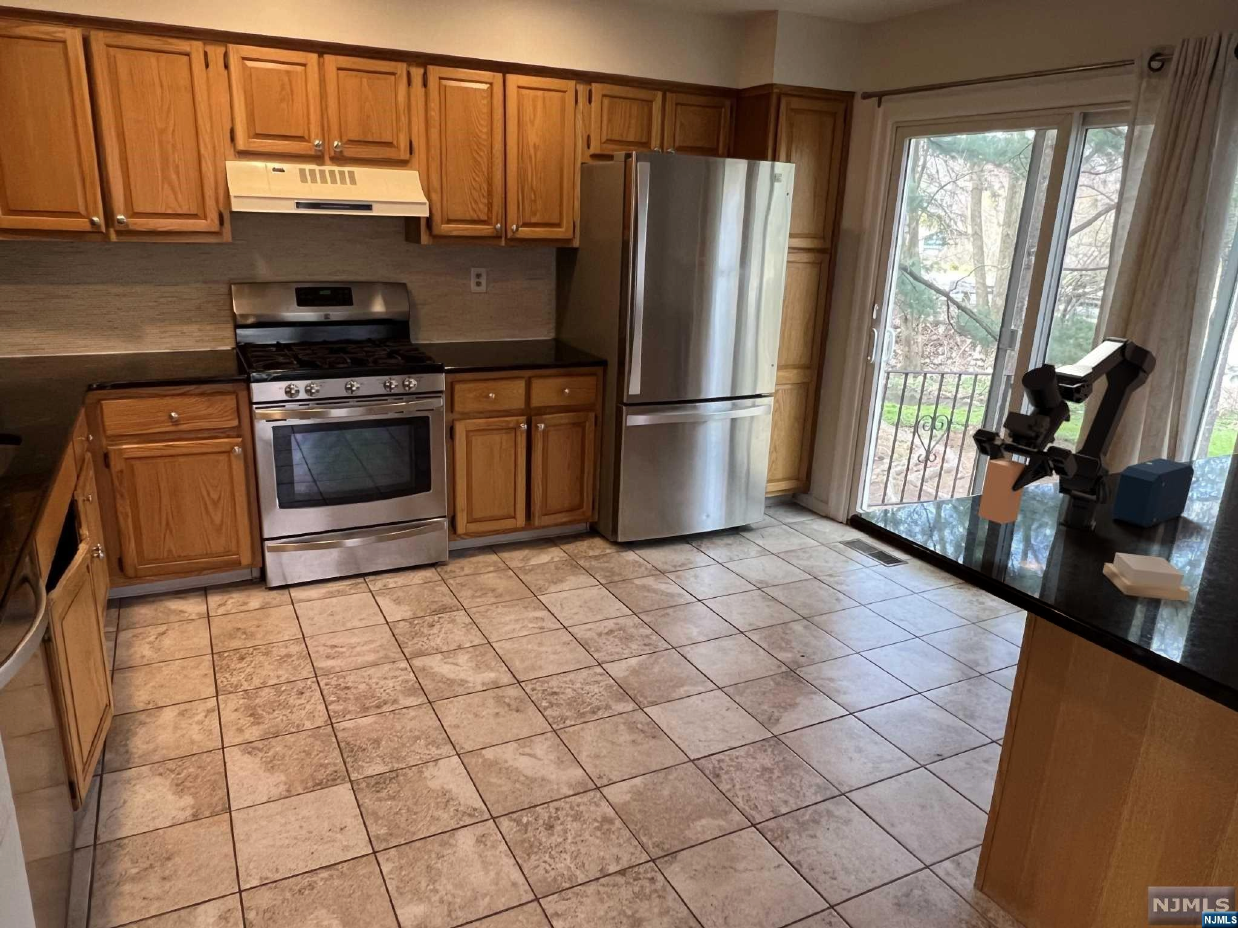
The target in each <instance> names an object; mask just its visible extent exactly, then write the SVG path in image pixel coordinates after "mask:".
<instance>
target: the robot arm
mask: <svg viewBox="0 0 1238 928" xmlns="http://www.w3.org/2000/svg"><path fill="white" fill-rule="evenodd" d="M1156 365H1157V359H1156V357H1155V355H1154V354H1153V353H1152V351H1151V350H1148V349H1146V348H1144V347H1143V346H1139V345H1137V344H1136V343H1135V342H1134V341H1133V340H1130V339H1129V338H1124V337H1123V338H1122V337H1113V336H1108V337H1104V339H1103V340H1102V342H1101V344H1099V345H1098V346H1097V347H1096V348H1094V349H1093V350H1091V351H1090V352H1089V353H1088V354H1086V355H1085V356H1084V357H1083V358H1081V359H1080V360H1078V361H1077V362H1076V363H1074V364H1068V365H1062V366H1060V367H1058V368H1056V367H1055V365H1054V364H1051V363H1045V362H1043V364H1042V365H1041V367H1036V368H1033V369H1030V370H1028V371H1027V372H1025V373H1024V374H1023V375H1022V376H1021V377H1022V378H1021V384H1022V387H1023V390H1024V392H1025V395H1026V398H1027V400H1028V404H1029V405H1030V406H1031V407H1032V408H1033V409H1032V411H1031V412H1030V413H1029V414H1025V413H1020V412H1016V411H1013V410H1009V411H1008V412H1007V416H1006V417H1005V420H1004V422H1003V424H1002V428H1004V429H1007V430H1008V433H1007V436H1008V438H1009V439H1011V441H1007V440H1005V439H1004V438H1003V437H1001V435H1000V433H999V431H996V430H992V429H988V428H984V427H981V428H980V427H979V428H978V429H977V430H976V431H975V432H974V434H973V435H971V437H972V440H973V442H974V444H975V446H976V449H977V451H978V452H979V453H980V454H981V455H983V456H986V457H989V461H990V460H995V459H1000V458H1005V459H1006V457H1005V456H1006V454H1007V453H1009V454H1012V455H1014V456H1015V455H1016V456H1019V457H1022V458H1027V459H1029V460H1028V463H1027V466H1026V467H1025V469H1024V470H1023V472H1022V473H1021V474H1020V476H1019V477H1018V479H1017V480H1016V481H1015V483H1014V485H1013V487H1012V490H1013V491H1014V492H1016V491H1017V490H1019V489H1021V488H1023V487H1024V488H1025V487H1026V486H1029V485H1031V484H1032V483H1034V482H1037V481H1039V480H1042V479H1045V478H1046V477H1049V478H1052V477H1053V476H1054V475H1056V476H1058V493H1059V494H1061V495H1062V494H1063V495H1066V496H1067V500H1066V503H1065V508H1064V512H1063V513H1064V514H1062V516H1061V517H1060V519H1059V521H1058V524H1059V525H1062V526H1065V527H1071V528H1075V529H1081V530H1083V531H1089V532H1092V531H1094V528H1095V526H1096V523H1097V522H1096V521H1095V520H1094V519H1095V515H1096V511H1097V506H1098V505H1101V504H1102V505H1107V504H1108V503H1109V501H1110V498H1111V495H1112V490H1111V486H1110V483H1109V479H1108V476H1109V473H1110V469H1109V466H1108V465H1109V464H1108V461H1107V455H1108V452H1109V450H1110V448H1111V445H1112V442H1113V440H1114V438H1115V435H1116V434H1117V432H1118V428H1119V426H1120V423H1121V421H1122V419H1123V416H1124V413H1125V411H1126V409H1127V406H1128V405H1129V404H1128V403H1129V401H1130V399H1131V397H1132V394H1133V393H1134V392H1136V391H1137V390H1138V389H1139V388H1141V387H1142V386H1143V385H1145V384H1146V383H1147V380H1148V379H1149V377H1150V375H1151V374H1152V373H1153V372H1154V370H1155V369H1156V368H1155V367H1156ZM1104 375H1105V379H1106V381H1107V382H1106V383H1107V385H1106V389H1105V390H1104V392H1103V396H1102V398H1101V401H1100V403H1099V406H1098V408H1097V410H1096V413H1095V415H1094V418H1093V421H1092V423H1091V425H1090V428H1089V429H1088V432H1087V435H1086V437H1085V440H1084V442H1083V444H1082V447H1081V449H1079V450H1078V451H1077V452H1075V453H1074V452H1072V449H1068V448H1064V447H1061V446H1056V445H1053V444H1054V442H1056V438H1055V435H1056V433H1057V432H1058V430H1059V429H1060V428H1061V426H1062V424H1063V423H1065V422H1066V423H1069V422H1070V421H1071V414H1070V413H1071V410H1070V406H1069V403H1073V404H1078V405H1080V404H1082V403H1084V402H1085V401H1086V400H1087V399H1088V398H1089V397H1090V395H1091V394H1092V393H1093V390H1094V388H1093V387H1094V384H1095V382H1097V381H1098V380H1100V378H1102V377H1103V376H1104ZM1049 444H1051V445H1049ZM1048 445H1049V446H1048ZM1047 447H1048V448H1047ZM1046 448H1047V449H1046ZM1045 450H1046V451H1045ZM1054 473H1055V474H1054ZM1024 488H1023V489H1024Z"/></svg>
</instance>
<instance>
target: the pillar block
mask: <svg viewBox="0 0 1238 928" xmlns="http://www.w3.org/2000/svg"><path fill="white" fill-rule="evenodd" d="M1027 465H1028V463H1027V464H1026V463H1024V462H1019V461H1015V460H1011V459H1008V458H1006V457H1005V458H1000V459H995V460H990V459H989V460H988V461H987V466H986V467H987V468H986V473H985V478H984V483H983V488H982V493H981V497H980V498H981V499H980V503H979V504H980V505H979V509H978V514H977V517H980V518H984V519H986V520H989V521H992V522H995V523H998V524H1001V525H1004V524H1007V523H1012V522H1015V521H1018V516H1019V512H1020V506H1021V501H1022V496H1023V492H1024V488H1025V487H1023V488H1021V489H1019V490H1017V491H1016V492H1014V491H1013V490H1012V487H1013V485H1014V483H1015V481H1016V480H1017V479H1018V477H1019V476H1020V474H1021V473H1022V472H1023V470H1024V469H1025V467H1026V466H1027Z"/></svg>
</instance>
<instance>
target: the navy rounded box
mask: <svg viewBox="0 0 1238 928" xmlns="http://www.w3.org/2000/svg"><path fill="white" fill-rule="evenodd" d="M1179 432H1180V429H1177V432H1176V436H1175V440H1174V444H1173V448H1172V452H1171V456H1170V459H1165V458H1161V457H1158V458H1155V459H1152V460H1147V461H1144V462H1140V463H1135V464H1131V465H1128V466H1126V467H1125V468H1124V469H1123V470H1121V474H1120V477H1119V482H1118V486H1117V490H1116V493H1115V494H1116V495H1115V500H1114V503H1113V506H1112V507H1113V508H1112V512H1111V516H1112V517H1113V518H1114V519H1115V520H1117V519H1118V521H1121V520H1122V522H1124V521H1125V523H1129V524H1131V523H1132V524H1131V525H1134V524H1135V525H1134V526H1138V525H1139V526H1138V527H1141V526H1142V527H1141V528H1144V527H1145V528H1144V529H1147V528H1150V527H1153V526H1156V525H1158V523H1159V524H1161V523H1164V522H1167V521H1169V520H1172V519H1175V518H1178V517H1179V516H1181V515H1182V514H1184V512H1185V509H1186V505H1187V500H1188V498H1189V493H1190V489H1191V485H1192V483H1193V477H1194V474H1195V469H1194V468H1193V466H1192V465H1191V464H1186V463H1182V462H1178V461H1174V460H1173V457H1174V451H1175V448H1176V442H1177V439H1178V435H1179ZM1166 520H1167V521H1166ZM1155 524H1156V525H1155ZM1152 525H1153V526H1152ZM1149 526H1150V527H1149Z"/></svg>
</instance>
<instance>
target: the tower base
mask: <svg viewBox="0 0 1238 928" xmlns="http://www.w3.org/2000/svg"><path fill="white" fill-rule="evenodd" d="M1102 573H1103V574H1104V575H1105V576H1106V578H1107V579H1108V580H1110V581H1111V583H1113V584H1114V585H1115V586H1116V587H1117V588H1118V589H1119V590H1120V591H1121V592H1122V593H1123V594H1124V595H1126V596H1133V597H1134V596H1135V597H1142V598H1153V599H1158V600H1159V599H1162V600H1171V601H1177V600H1182V601H1181V602H1186V601H1187V602H1188V601H1189V600H1188V598H1189V596H1190V590H1189V589H1188V588H1186V587H1185V586H1184V585H1183V584H1181V587H1180V588H1174V587H1165V586H1157V585H1148V584H1139V583H1131V582H1130V581H1129V580H1128V579H1127V578H1126V577H1125V576H1124V575H1123V574H1121V573H1120V572H1119V571H1118V570H1117V569H1116V568H1115V567H1114V566H1113V563H1110V562H1104V566H1103V570H1102Z"/></svg>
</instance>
